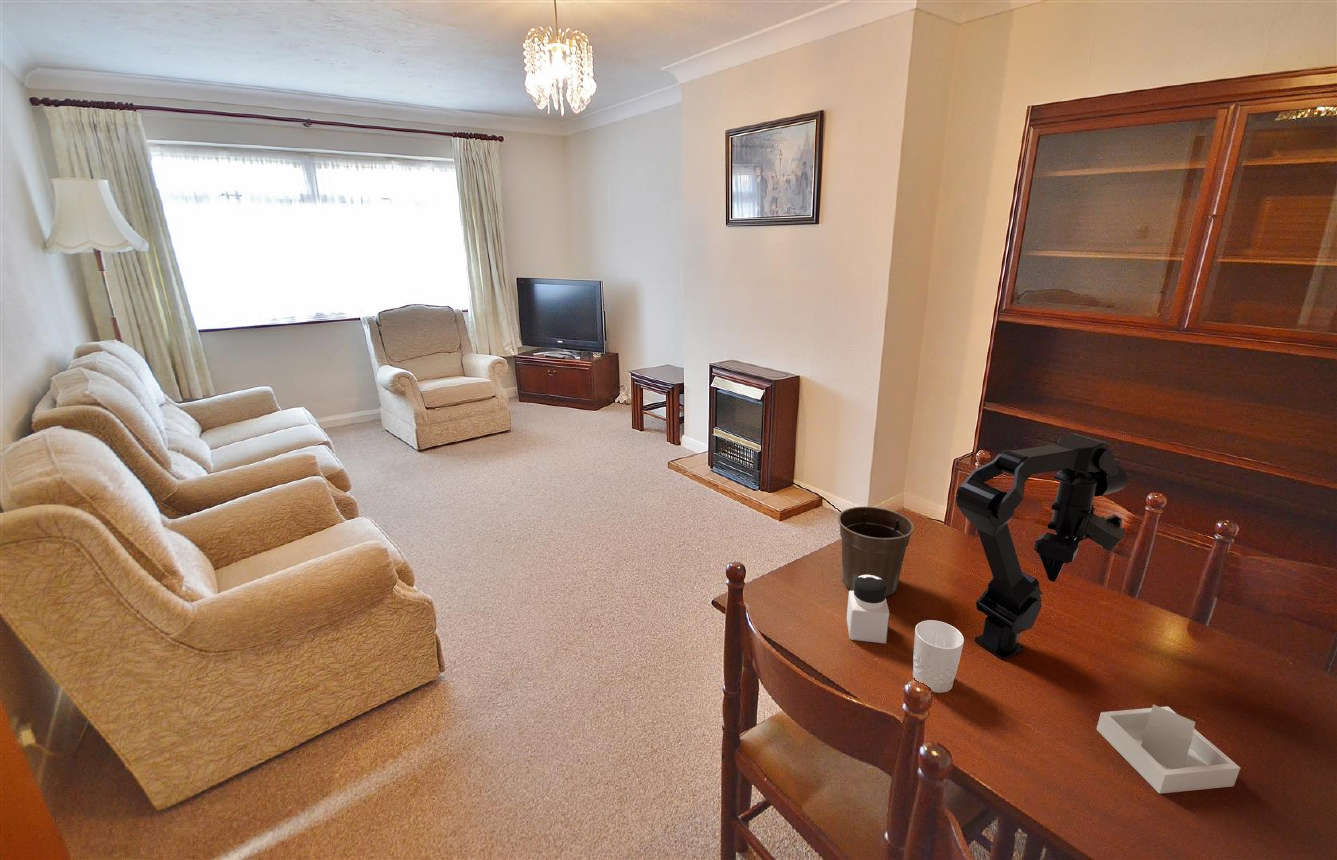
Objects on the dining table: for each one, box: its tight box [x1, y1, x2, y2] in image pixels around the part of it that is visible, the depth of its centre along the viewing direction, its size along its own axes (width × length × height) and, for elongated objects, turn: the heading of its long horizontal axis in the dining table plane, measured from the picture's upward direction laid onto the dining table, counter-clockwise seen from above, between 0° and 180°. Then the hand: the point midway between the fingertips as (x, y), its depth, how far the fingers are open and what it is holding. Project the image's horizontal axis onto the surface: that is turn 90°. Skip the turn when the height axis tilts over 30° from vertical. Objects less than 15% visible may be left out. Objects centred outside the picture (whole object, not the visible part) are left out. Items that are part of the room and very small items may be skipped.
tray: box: [1096, 706, 1241, 794], centre depth 89 cm, size 12×12×4 cm
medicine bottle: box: [846, 575, 891, 644], centre depth 118 cm, size 7×7×12 cm
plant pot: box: [837, 506, 915, 597], centre depth 133 cm, size 16×16×16 cm
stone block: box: [1141, 704, 1196, 769], centre depth 89 cm, size 5×5×6 cm
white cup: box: [912, 619, 965, 694], centre depth 105 cm, size 8×8×10 cm
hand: (1058, 571), depth 115 cm, fingers open, 9 cm apart
